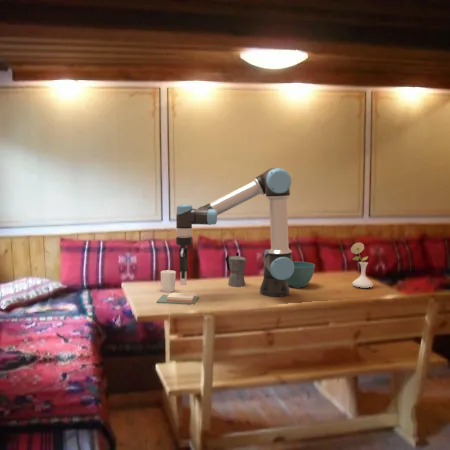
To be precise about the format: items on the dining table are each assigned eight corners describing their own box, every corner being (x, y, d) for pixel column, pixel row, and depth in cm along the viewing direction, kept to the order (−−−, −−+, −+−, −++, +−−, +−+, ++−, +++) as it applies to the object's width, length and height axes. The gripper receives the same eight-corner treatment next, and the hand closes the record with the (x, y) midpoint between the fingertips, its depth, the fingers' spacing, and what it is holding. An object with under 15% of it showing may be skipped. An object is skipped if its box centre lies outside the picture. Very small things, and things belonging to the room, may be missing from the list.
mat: (198, 297, 297) (198, 296, 297) (193, 304, 282) (193, 303, 282) (162, 295, 299) (162, 294, 299) (156, 302, 284) (156, 301, 284)
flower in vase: (371, 285, 336) (373, 241, 333) (374, 289, 325) (376, 244, 322) (347, 284, 337) (349, 240, 335) (350, 288, 326) (352, 243, 323)
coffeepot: (251, 286, 327) (252, 253, 325) (239, 288, 320) (239, 255, 319) (231, 281, 338) (232, 250, 336) (219, 283, 332) (220, 251, 330)
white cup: (161, 292, 306) (161, 273, 305) (159, 289, 314) (159, 270, 313) (176, 292, 308) (176, 272, 307) (174, 288, 316) (174, 270, 315)
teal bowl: (320, 288, 325) (321, 266, 323) (290, 290, 318) (291, 267, 317) (303, 282, 341) (304, 260, 340) (275, 283, 335) (275, 262, 333)
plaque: (195, 293, 292) (192, 298, 283) (195, 298, 292) (192, 302, 283) (170, 292, 293) (167, 296, 284) (170, 297, 293) (167, 301, 284)
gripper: (178, 234, 296) (178, 281, 298) (173, 238, 283) (173, 287, 285) (193, 235, 295) (193, 282, 298) (189, 238, 282) (188, 287, 285)
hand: (183, 284), depth 291 cm, fingers closed
